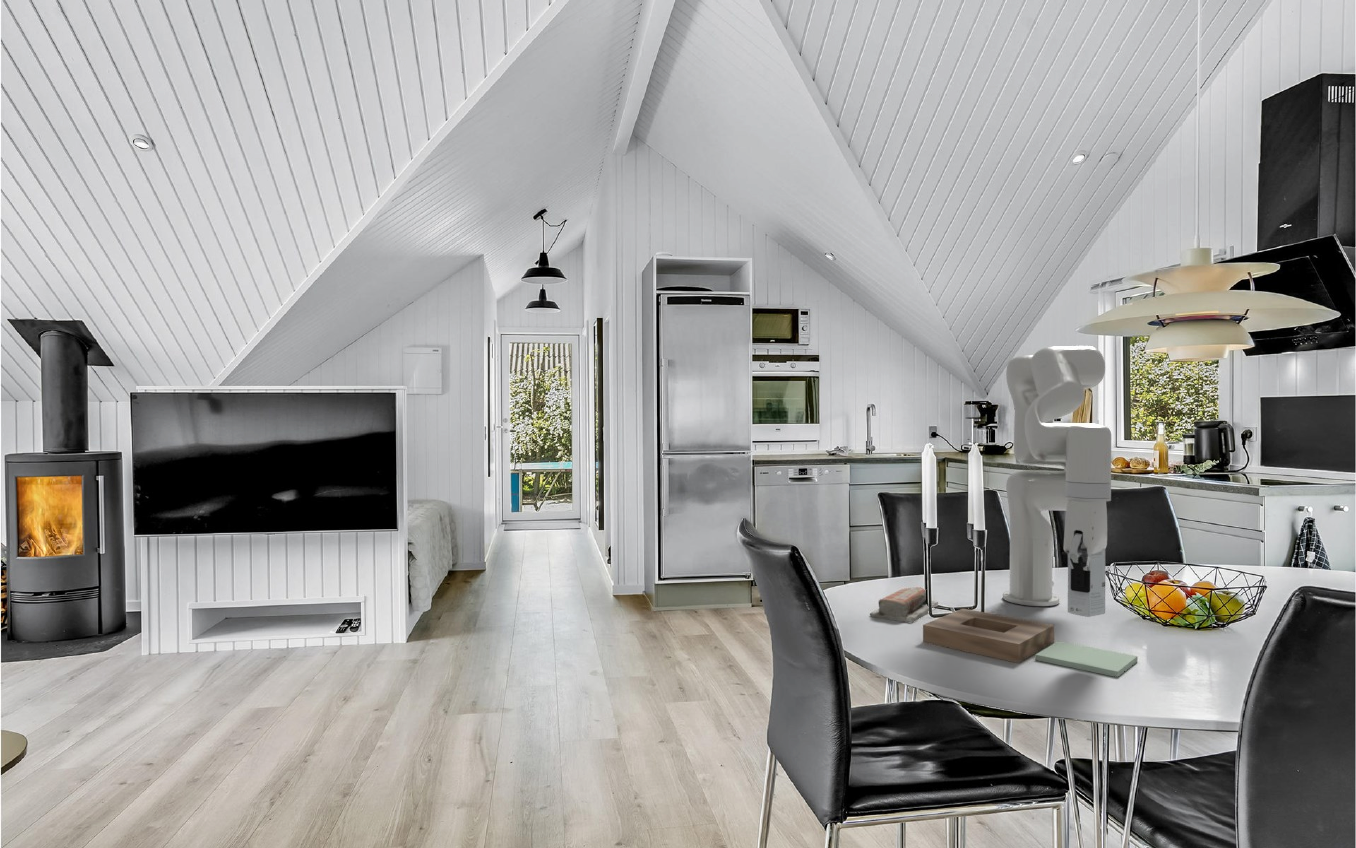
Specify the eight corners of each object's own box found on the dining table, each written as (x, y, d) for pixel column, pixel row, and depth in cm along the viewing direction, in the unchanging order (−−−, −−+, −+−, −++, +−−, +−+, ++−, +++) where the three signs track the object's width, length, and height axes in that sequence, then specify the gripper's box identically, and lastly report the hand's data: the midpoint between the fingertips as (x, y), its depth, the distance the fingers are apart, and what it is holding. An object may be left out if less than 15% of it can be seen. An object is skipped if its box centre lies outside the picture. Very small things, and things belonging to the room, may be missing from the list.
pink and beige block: (913, 603, 176) (869, 597, 182) (913, 625, 176) (869, 618, 182) (938, 588, 191) (897, 582, 197) (938, 608, 191) (897, 602, 197)
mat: (1058, 646, 159) (1058, 641, 159) (1137, 661, 150) (1137, 656, 150) (1035, 659, 151) (1035, 654, 151) (1117, 677, 141) (1117, 671, 141)
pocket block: (962, 624, 175) (962, 608, 175) (1054, 642, 162) (1054, 625, 162) (922, 642, 162) (923, 624, 162) (1018, 663, 149) (1019, 644, 149)
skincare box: (1089, 618, 146) (1091, 550, 146) (1065, 613, 150) (1066, 547, 150) (1106, 614, 150) (1107, 548, 150) (1082, 609, 154) (1083, 545, 154)
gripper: (1082, 487, 158) (1081, 578, 159) (1049, 493, 146) (1049, 592, 146) (1124, 489, 153) (1123, 584, 154) (1094, 497, 141) (1093, 599, 141)
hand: (1087, 587), depth 150 cm, fingers closed on skincare box, 6 cm apart
